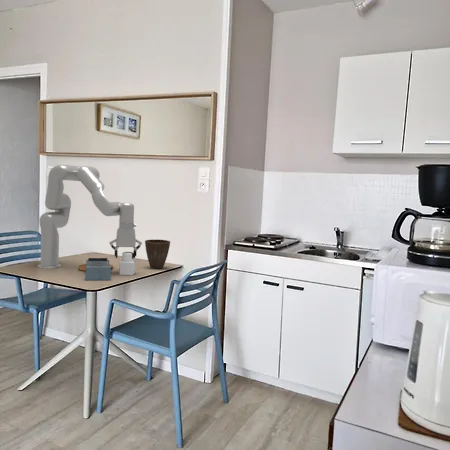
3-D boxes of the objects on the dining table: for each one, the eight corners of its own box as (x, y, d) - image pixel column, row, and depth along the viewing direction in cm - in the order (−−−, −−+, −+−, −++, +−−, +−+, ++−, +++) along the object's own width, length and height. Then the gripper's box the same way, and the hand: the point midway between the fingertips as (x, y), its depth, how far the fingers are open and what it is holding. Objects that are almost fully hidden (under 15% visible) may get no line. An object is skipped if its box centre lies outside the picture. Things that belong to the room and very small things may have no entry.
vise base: (86, 270, 235) (86, 258, 235) (108, 270, 239) (108, 258, 238) (85, 280, 211) (85, 267, 211) (110, 280, 215) (110, 267, 214)
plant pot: (157, 271, 244) (158, 243, 242) (138, 267, 252) (139, 240, 250) (174, 267, 256) (175, 241, 255) (155, 264, 264) (156, 238, 263)
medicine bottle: (122, 272, 235) (123, 250, 234) (135, 273, 235) (136, 251, 234) (119, 274, 228) (119, 252, 227) (132, 275, 228) (133, 253, 227)
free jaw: (86, 268, 232) (86, 257, 232) (108, 268, 236) (109, 257, 235) (86, 269, 229) (86, 258, 228) (109, 269, 233) (109, 258, 232)
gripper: (141, 225, 236) (140, 256, 237) (109, 225, 230) (108, 256, 232) (143, 227, 229) (142, 258, 230) (110, 226, 223) (109, 258, 225)
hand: (125, 257), depth 231 cm, fingers open, 9 cm apart
